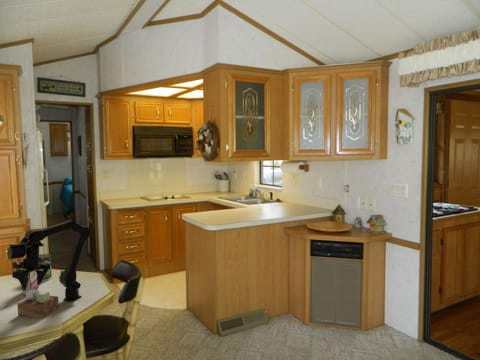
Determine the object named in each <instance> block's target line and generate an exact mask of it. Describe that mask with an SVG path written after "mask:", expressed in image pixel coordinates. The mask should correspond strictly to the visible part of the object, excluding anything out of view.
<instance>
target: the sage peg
mask: <svg viewBox="0 0 480 360" xmlns="http://www.w3.org/2000/svg"><path fill="white" fill-rule="evenodd" d="M36 296H37V302H39V303H45V302H47V301H49V300H50V296H51V294H50V291H47V290H42V291H39V293H37V294H36Z"/></svg>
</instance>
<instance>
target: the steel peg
mask: <svg viewBox="0 0 480 360" xmlns="http://www.w3.org/2000/svg"><path fill="white" fill-rule="evenodd" d="M39 292H40V290H39V289H36V290H30V291H28V292H26V295H25V300H26V301H32V302H33V301H35V300H37V296H36V294H37V293H39Z"/></svg>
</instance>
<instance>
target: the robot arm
mask: <svg viewBox="0 0 480 360" xmlns="http://www.w3.org/2000/svg"><path fill="white" fill-rule="evenodd" d="M67 230H71V231H72V232H74V233H73V238H74V243H73V246H72V250H71V253H70V256H69V259H68V263H67V266H66V268H65V269H64V270H61V271H60V274H59V277H58V279H59V283H60V284H61V285H62V286H63V287H64V288H65V289H64V291H65V292H64V298H63V301H66V302H76V300H78V299H81V297H82V295H80V291H79V289H80V288H81V285H82V284H81V283H80V282H78V280H77V268H78V265H79V261H80V259H81V258H80V257H81V254H82V251H83V249H84V244H85V243H86V242H87V241H88V239H89V238H90V235H91V233H92V231H91V228H90V227H88V226H84V225H80V224H78V223H76V222H75V221H73V220H69V219H68V220H65V221H63V222H59V223H57V224H53V225H51V226H47V227H44V228H35V229H33V228H32V229H28V230H27V231H25V233H24V235H23V236H24V237H23V238H22V239H21V240H20V242H19V243H15V244H13V243H12V244H9V247H8V249H7V259H9V260H15V259H20V258H21V259H22V258H23V260H22V261H20V262H19V261H18V260H17V261H13V262H12V268H13V269H15V270H14V271H13V272H12V274H11V278H14V279H15V280H18V282H19V283H20V285H21V290H22V289H23V290H24V291H25V290H26V288H27V284H28V280H29V277H28V275H29V273H31V272H34V271H36V273H37V284H38V286H39V285H40V286H41V283H42V282H43V281H42V280H43V278H44V276H45V274H46V273H47V271H48V269H50V264H49V263H42V262H41V263H39V260H41V257H39V255H40V247H44V246H45V244H44V243H42V241H43V240H45V239H46V238H47V237H49V236H53V235H56V234H58V233H61V232H64V231H67ZM24 257H25V258H24ZM20 269H26V270H20Z"/></svg>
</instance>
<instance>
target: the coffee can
mask: <svg viewBox="0 0 480 360" xmlns="http://www.w3.org/2000/svg"><path fill="white" fill-rule="evenodd" d="M39 257H41V260H39V263H41V262H42V263H49V264H50V269H48V271H47V273H46V274H45V276H44V278H43V280H42V282H46V281H49V280H51V279H52V278H53V277H52V276H53V275H52V262H51V261H52V260H51V259H52V258H51V257H52V256H51V254H49V253H48V254H47V253H43V254H42V253H41V254H39Z"/></svg>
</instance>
